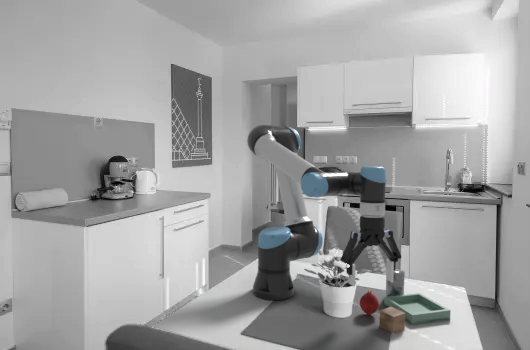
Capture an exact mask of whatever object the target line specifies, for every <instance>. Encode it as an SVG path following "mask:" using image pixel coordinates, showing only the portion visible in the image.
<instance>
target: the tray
mask: <svg viewBox="0 0 530 350" xmlns="http://www.w3.org/2000/svg"><path fill="white" fill-rule="evenodd" d="M383 298H384V299H383V301H384V302H383V306H384V307H385V308H388V307H393V308H395V309H397V310H400V311H402V312H404V313H405V322H407V323H409V324H410V325H411V326H413V325H414V326H415V325H421V324H428V323H429V324H430V323H435V322H437V323H438V322H443V321H449V320H451V309H449V308H447V307H446V306H444V305H442V304H440V303H438V302H436V301H434V300H432V299H431V298H429V297H427V296H425V295H423V294H422V293H420V292H418V293H417V292H416V293H407V294H404V295H397V296H388V297H386V296H384V297H383Z"/></svg>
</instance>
